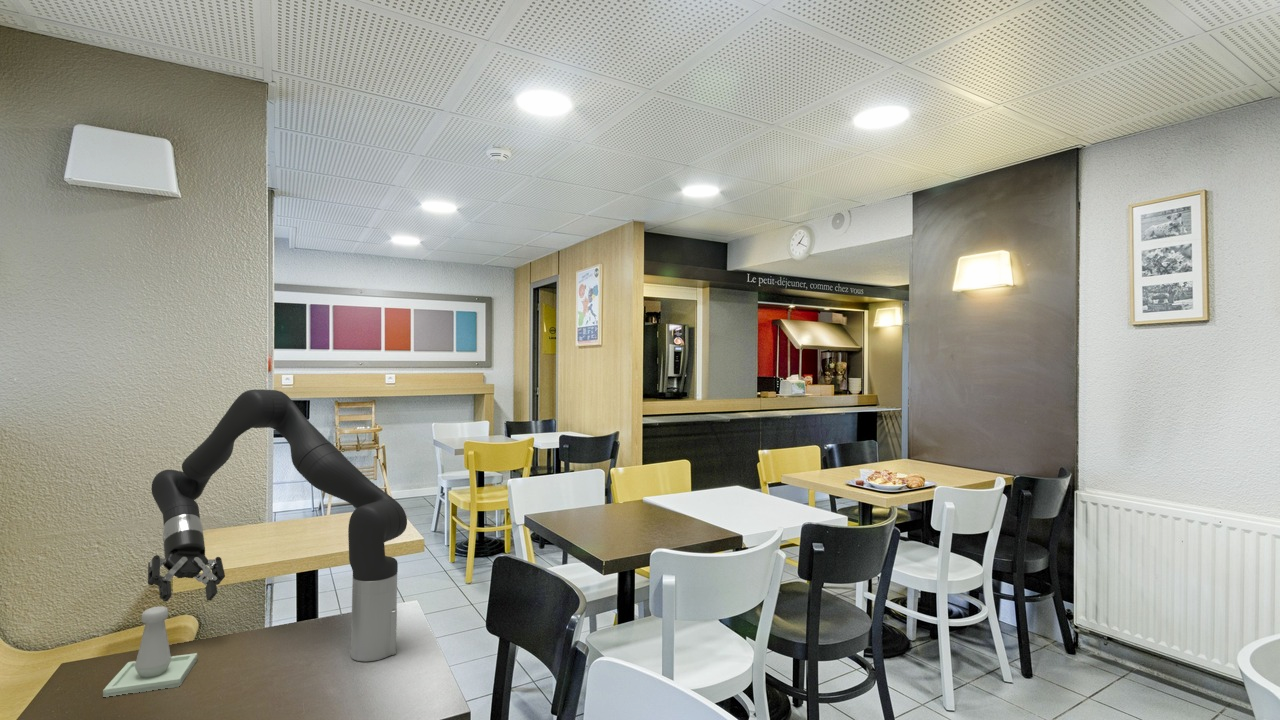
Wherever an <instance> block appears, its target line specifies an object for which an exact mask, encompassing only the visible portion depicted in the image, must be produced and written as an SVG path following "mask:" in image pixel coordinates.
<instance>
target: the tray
mask: <svg viewBox="0 0 1280 720" xmlns="http://www.w3.org/2000/svg"><path fill="white" fill-rule="evenodd" d="M197 661H198V652H196V653H189V654H180V655H173V656H171V662H170V664H169V666H168V668H167V670H166V672H164V673H163V674H161V675H159V676H156V677H152V678H141V677H140V676H139V674H138V673H137V671H136V669H135V663H136V660H133V661H128V662H127V663H126V664H125V665H124V666H123V667H122V669H121V670H120V671H119V672H117V674H116V675H115V676H114V677H113V678H112V680H110V681H109V683H108V684H107V685H106V686H104V687H105V688H104V689H103V690H102V698H103V697H106V698H110V697H109V696H113V697H117V696H116V695H120V696H123V695H122V694H126V695H129V694H128V693H133V694H139V692H140V693H145V692H146V691H147V692H153V691H152V690H154V691H159V690H158V689H161V690H166V689H165V688H168V689H174V688H180V687H179V686H181V685H182V683H183V682H184V680H185V679H186V678H187V676H188V675H189V673H190V672H191V670H192V669H193V667H194V666H195V664H196V662H197Z"/></svg>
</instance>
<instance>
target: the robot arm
mask: <svg viewBox="0 0 1280 720" xmlns="http://www.w3.org/2000/svg"><path fill="white" fill-rule="evenodd" d="M265 428H266V429H269V428H271V429H273V430H275V431H277V433H279V434H280V436H282V437H283V438H284V439H285V440H286V442H287V443H288V444H289V448H290V457H291V463H292V465H293V467H294V469H296V471H297V472H298V474H300V475H301V476H302V477H303V478H304V479H305V480H306V481H307V482H308V483H309V484H310V485H311V486H313V487H314V488H316V489H317V490H320V491H321V492H323V493H325V494H328V495H331V497H335V498H337V499H339V500H343V501H345V502H347V504H350V505H351V506H353V507H354V508H355V509H354V510H353V512H352V514H351V516H350V517H349V521H348V534H347V536H348V561H349V565H350V567H351V571H352V587H351V588H352V589H351V590H352V592H351V593H352V594H351V622H350V623H351V626H350V627H351V628H350V635H351V636H350V657H351V659H352V660H354V661H357V662H374V661H379V660H383V659H385V658H387V657H389V656H394V655H396V654H397V621H398V616H397V615H398V611H397V610H398V608H397V607H398V604H397V603H398V602H397V601H398V566H399V565H398V560H397V559H396V558H395V557H393V556H387V555H386V552H385V551H386V550H385V549H386V548H385V543H386V542H389V541H391V540H394V539H396V538H398V537H400V536H401V535H403V534H404V532H405V531H406V529H407V526H408V518H407V514H406V512H405V510H404V508H403V506H402V505H401V504H400V503H399V502H398V501H397V500H395V499H394V498H393V497H392V495H391V496H390V495H389V494H388V493H387V492H385V491H384V490H383V489H381V488H380V487H378V486H377V484H375V483H373V481H371V480H370V479H369V478H368V477H367V476H366V475H365V474H364V473H362V471H360V470H359V469H358V467H356V466H355V464H353V463H352V462H351V461H350V460H349V459H348V458H347V457H346V456H345V455H344V454H343V453H342V452H341V451H340V450H339V449H338V448H337V447H336V446H335V445H334V444H333V443H332V442H331V441H330V440H328V439H327V438H326V437H325V436H324V435H323V434H322V432H320V431H319V430H318V429H317V428H316V427H315V426H314V425H313V424H312V423H311V422H310V421H309V420H308V419H307V418H306V417H305V415H304V414H303V412H302V411H301V409H299V407H298V406H297V404H295V402H294V401H293V400H292V399H291V397H290V396H288V395H287V394H285V393H284V392H283V391H280V390H276V389H249V390H245V391H244V392H241V394H240V395H238V396H237V398H236V399H235V400H234V401H233V402H232V404H231V405H230V407H229V408H228V409H227V411H226V413H225V414H224V415H223V416H222V418H221V419H220V420H219V421H218V423H217V424H216V426H215V427H214V429H213V431H212V432H211V433H210V434H209V435H208V437H206V439H205V440H203V442H202V443H201V444H199V445H198V446H197V447H196V448H195V449H194V450H193V451H192V452H191V453H190V454H189V455H188V456H187V457H186V458H185V459H184V460H183V462H182V463H181V470H182V471H181V470H175V469H164V470H162V471H160V472H158V473H157V474H156V475H155V476H154V478H153V479H152V482H151V494H152V497H153V499H154V501H155V503H156V505H157V507H158V509H159V510H160V512H161V514H162V521H163V531H162V542H163V553H164V558H162V557H161V556H160V555H157V554H156V555H154V556H153V557H152V558H151V560H150V561H149V562H148V565H147V584H148V585H149V586H155V585H156V586H157V587H158V589H159V590H158V592H159V598H160V600H162V602H163V603H164V602H168V601H169V600H170V599H171V597H172V595H173V594H172V583H171V581H170V580H172V579H173V578H174V577H176V578H177V579H183V578H184V579H186V578H187V579H195V580H196V581H197V582H198V583H200V582H201V583H202V584H203V585H205V597H206V601H212V600H213V599H214V598H215V596H216V595H217V594H218V589H217V588H218V587H217V585H220V584H221V582H222V581H223V580H224V579H225V577H226V574H225V569H224V564H223V560H222V557H220V556H216V557H215V558H213V559H210V558H207V557H206V547H205V546H206V545H205V537H204V529H203V525H202V521H201V516H200V508H199V505H198V503H197V501H196V500H197V499H198V498H199V497H201V496H202V494H203V492H204V490H205V488H206V486H207V484H208V483H209V481H210V479H211V478H212V476H213V475H215V473H216V472H218V470H219V469H220V468H222V466H224V465H225V464H226V463H227V462H228V461H229V459H230V458H231V456H232V454H233V450H234V443H235V442H236V440H237V439H238V438H239V437H240V436H241V435H243V434H244V433H246V432H247V431H249V430H250V429H265ZM162 566H163V567H164V568H165V569H166V570H168V572H166V574H165V575H164V576H162V575H161V567H162ZM201 572H202V574H201Z"/></svg>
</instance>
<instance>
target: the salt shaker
mask: <svg viewBox="0 0 1280 720" xmlns="http://www.w3.org/2000/svg"><path fill="white" fill-rule="evenodd" d="M168 617H169V610H168V608H167V607H166V606H159V605H158V606H154V607H149V608H147V609H145V610H144V611H143V612H142V614H141V622H142V624H144V627H143V628H144V629H143V632H142V636H141V640H140V645H139V648H138V651H137V656H136V660H135V661H136V663H135V669H136V671H137V673H138V674H139V676H140V677H141V678H152V677H156V676H159V675H161V674H163V673H164V672H166V670H167V668H168V666H169V664H170V662H171V650H170V649H171V648H170V644H169V638H168V632H167V628H166V627H167V626H166V619H168Z"/></svg>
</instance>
